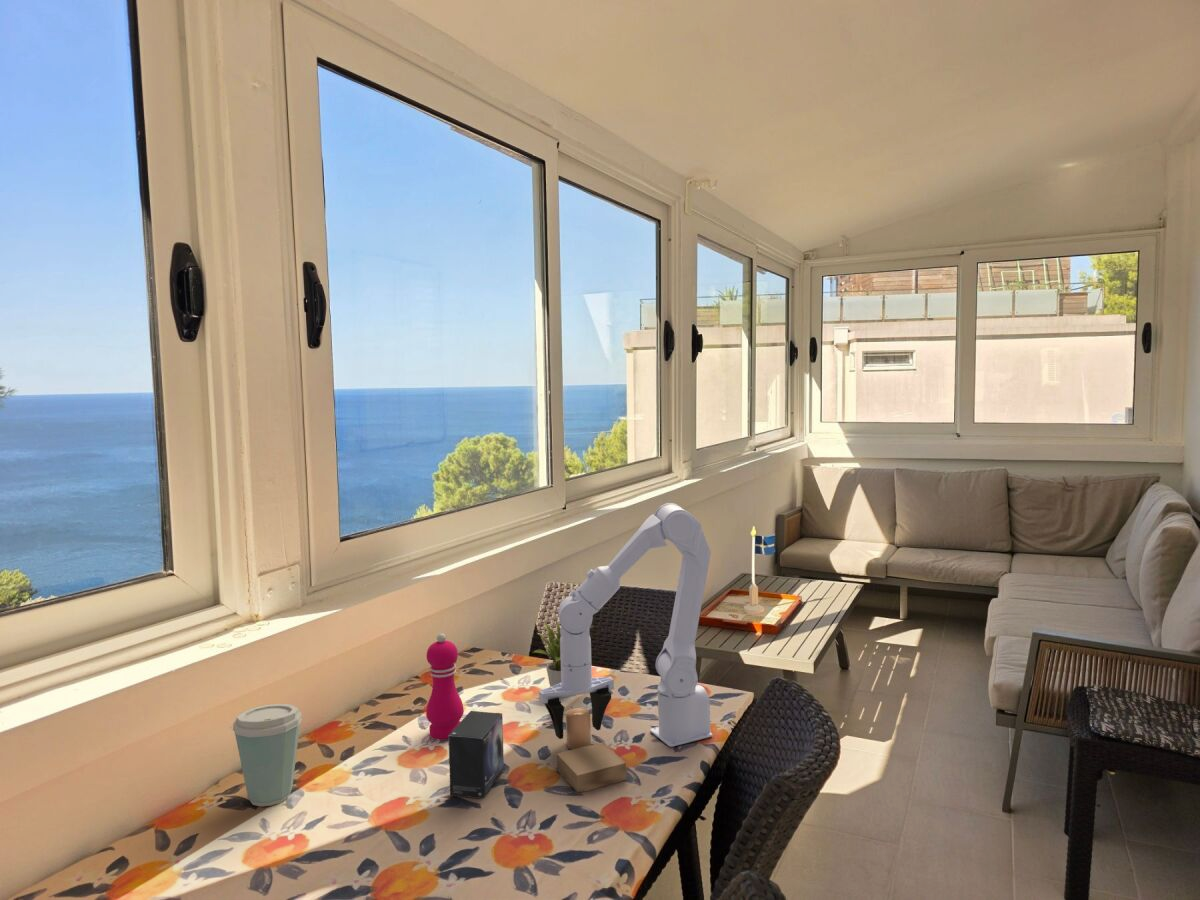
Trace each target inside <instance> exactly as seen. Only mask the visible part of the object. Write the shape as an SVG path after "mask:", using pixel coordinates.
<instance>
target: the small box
mask: <svg viewBox="0 0 1200 900" xmlns="http://www.w3.org/2000/svg"><path fill="white" fill-rule="evenodd" d="M460 721H461V722H460V723H459V724H458V725H457V726H456V728H455V729H454V730H453V731H452V732H451V733H450V734H449V735H448V738H449V739H448V762H449V763H448V764H449V765H448V767H449V796H452V797H465V798H476V799H485V797H486V796H487V794H488V793H489V792H490V790H491V788H492V787H493V786H494V784H495V783H496V781H497V780H498V779H499V777H500V776H501V774H502V773H503V772H504V770H505V761H504V760H505V758H504V755H505V754H504V731H503V729H504V727H503V725H504V724H503V723H504V722H503V713H499V712H486V711H479V710H470V711H469V712H468V713H467V714H466V716H465V717H463V719H462V720H460Z"/></svg>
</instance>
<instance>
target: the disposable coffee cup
mask: <svg viewBox="0 0 1200 900" xmlns="http://www.w3.org/2000/svg"><path fill="white" fill-rule="evenodd" d="M302 714H303V713H302V712H301V711H300V710H299V708H298V707H297V706H295V705H293V704H289V703H288V704H287V703H286V704H285V703H275V704H274V703H272V704H271V703H270V704H265V705H261V706H256V707H252V708H249V709H247V710H245V711H243V712H241V713H240V714H239V715H238V716H237V717H236V718H235V719H236V720H235V721H234V722H233V723H232V730H233V732H234V736H235V741H236V745H237V750H238V756H239V760H240V766H241V770H242V774H243V778H244V779H243V781H244V784H245V789H246V794H247V798H248V799H249V802H250V803H251V804H252V805H253V806H256V807H257V806H258V807H270V806H271V807H272V806H274V805H278V804H281V803H282V802H284V801H285V800H287V799H289V797H290V795H291V791H292V789H293V785H294V776H295V769H296V767H295V766H296V760H297V759H296V758H297V752H298V751H297V750H298V745H299V744H298V743H299V736H300V727H301V723H302V721H303V716H302Z"/></svg>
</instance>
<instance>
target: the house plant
mask: <svg viewBox="0 0 1200 900" xmlns="http://www.w3.org/2000/svg"><path fill="white" fill-rule="evenodd" d="M543 625H544V627H545V630H546V632H547V637H548V639H547V638H546V637H545V636H543V634H541V633H539V632H536V631H535V633H536V634H537V635H538V636H539V637H540V638H541V640H543V641H544V642H545V644H547V647H546V648H545V650H544V649H540V648H538V649H536V650H533V653H538V654H543V655H547V656H548V657H549V658H550V659H551V660H552V661H551V662H549V663H547V664H546V667H545V669H546V672H547V677H548V684H549V687H551V686H554V685H557V684H559V683H561V655H560V637H561V634H560V629H561V627H560V625H559V623H558V620H555V625H556V630H557V631H553V630H552V628H551V627H550V626H549V625H548V623H545V622H543ZM593 627H594V625H591V626H590V627H589V629H591V628H593Z"/></svg>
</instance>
